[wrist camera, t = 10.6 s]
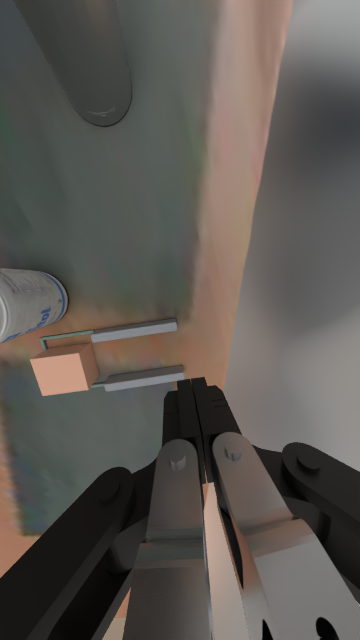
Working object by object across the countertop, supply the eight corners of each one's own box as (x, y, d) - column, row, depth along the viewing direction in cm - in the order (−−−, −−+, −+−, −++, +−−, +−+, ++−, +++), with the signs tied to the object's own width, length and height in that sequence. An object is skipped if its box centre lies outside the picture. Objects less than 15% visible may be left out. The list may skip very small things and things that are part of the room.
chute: (97, 329, 34) (90, 334, 31) (175, 318, 34) (176, 322, 32) (110, 382, 37) (105, 391, 34) (183, 371, 37) (184, 379, 34)
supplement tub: (54, 333, 34) (-30, 374, 20) (5, 304, 32) (-127, 326, 18) (80, 291, 32) (9, 302, 18) (29, 258, 31) (-93, 242, 16)
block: (49, 347, 35) (30, 359, 30) (91, 342, 35) (78, 353, 30) (59, 380, 36) (42, 395, 32) (99, 374, 37) (88, 389, 32)
